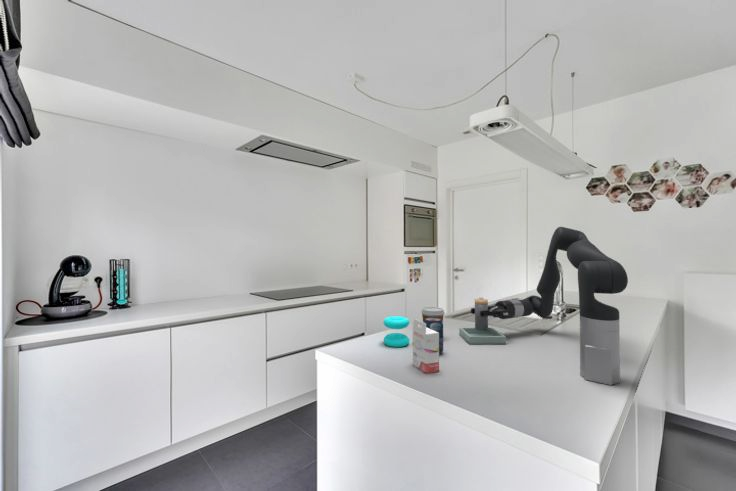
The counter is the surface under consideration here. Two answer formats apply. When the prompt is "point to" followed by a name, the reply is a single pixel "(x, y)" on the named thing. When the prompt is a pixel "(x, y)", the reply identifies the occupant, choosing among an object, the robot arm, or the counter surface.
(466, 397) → the counter surface
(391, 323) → the donuts
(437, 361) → the ink cartridge box
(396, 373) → the counter surface
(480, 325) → the battery
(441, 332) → the soda can
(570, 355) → the counter surface
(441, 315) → the disposable coffee cup
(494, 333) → the bin
